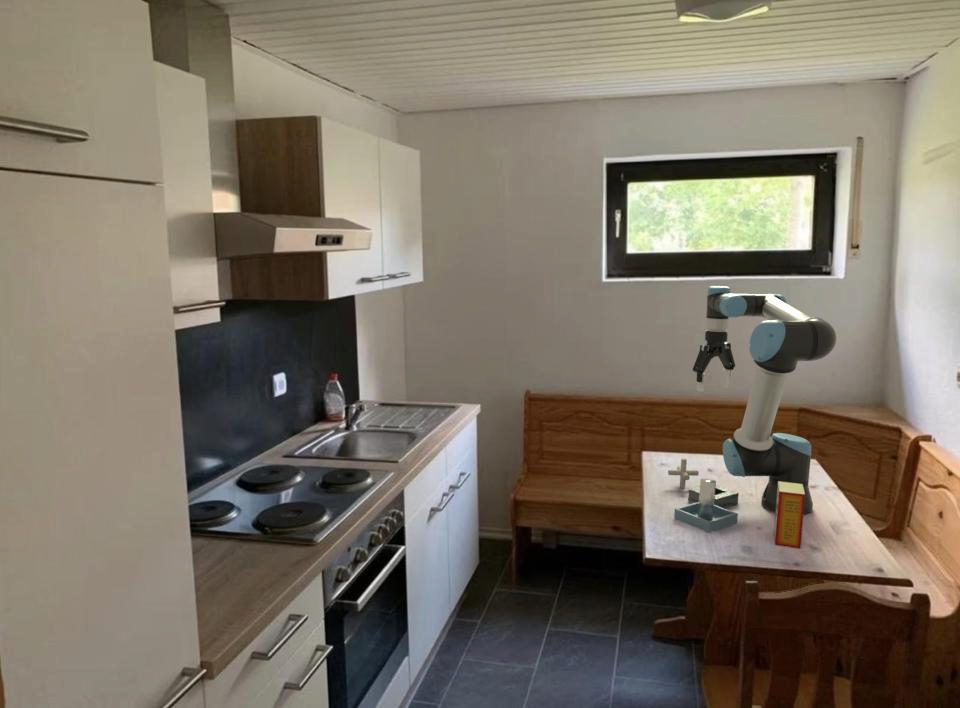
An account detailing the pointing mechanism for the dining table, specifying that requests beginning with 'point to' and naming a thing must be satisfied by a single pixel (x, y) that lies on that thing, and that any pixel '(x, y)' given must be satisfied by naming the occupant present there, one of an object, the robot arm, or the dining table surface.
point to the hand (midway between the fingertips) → (713, 389)
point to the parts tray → (690, 517)
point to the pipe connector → (683, 472)
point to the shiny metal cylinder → (706, 498)
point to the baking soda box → (789, 514)
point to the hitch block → (716, 496)
